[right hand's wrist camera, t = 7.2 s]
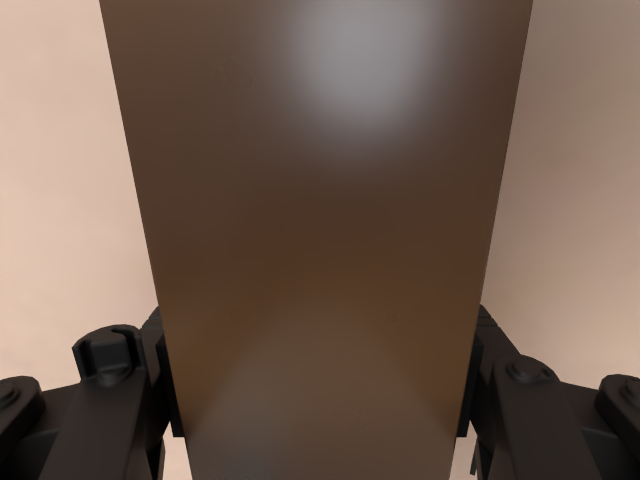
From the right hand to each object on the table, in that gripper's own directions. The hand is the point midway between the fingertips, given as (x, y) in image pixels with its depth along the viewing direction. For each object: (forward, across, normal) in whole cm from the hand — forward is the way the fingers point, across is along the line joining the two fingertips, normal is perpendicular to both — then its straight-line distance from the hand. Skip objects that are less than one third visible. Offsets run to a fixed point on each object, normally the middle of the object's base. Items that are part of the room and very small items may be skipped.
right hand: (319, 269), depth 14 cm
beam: (+1, 0, -20) cm, 21 cm away
